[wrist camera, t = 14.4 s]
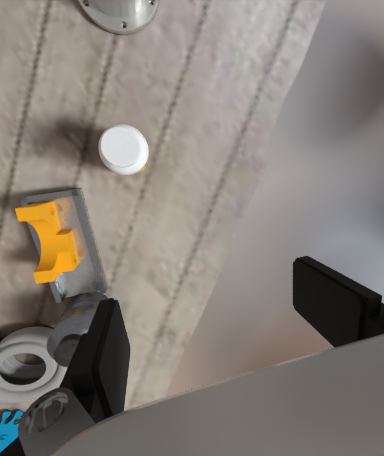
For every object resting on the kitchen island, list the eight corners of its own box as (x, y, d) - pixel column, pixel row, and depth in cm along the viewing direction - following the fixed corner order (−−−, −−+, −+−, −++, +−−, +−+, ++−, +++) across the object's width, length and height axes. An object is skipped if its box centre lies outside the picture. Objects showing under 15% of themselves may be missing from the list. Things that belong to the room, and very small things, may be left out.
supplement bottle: (152, 172, 39) (152, 172, 27) (115, 176, 39) (98, 179, 26) (145, 133, 38) (143, 115, 25) (106, 137, 37) (84, 120, 24)
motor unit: (26, 196, 37) (-29, 207, 25) (91, 187, 38) (66, 193, 27) (73, 329, 44) (46, 383, 33) (125, 316, 46) (116, 364, 35)
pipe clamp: (79, 263, 40) (66, 279, 34) (54, 266, 40) (36, 283, 33) (65, 199, 37) (48, 205, 31) (37, 202, 36) (14, 208, 30)
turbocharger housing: (74, 374, 49) (76, 317, 45) (66, 403, 43) (67, 341, 39) (-17, 383, 44) (-22, 321, 41) (-41, 417, 38) (-50, 348, 35)
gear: (42, 418, 47) (7, 485, 41) (47, 412, 51) (16, 472, 46) (-9, 402, 45) (-54, 470, 39) (1, 398, 50) (-38, 457, 44)
